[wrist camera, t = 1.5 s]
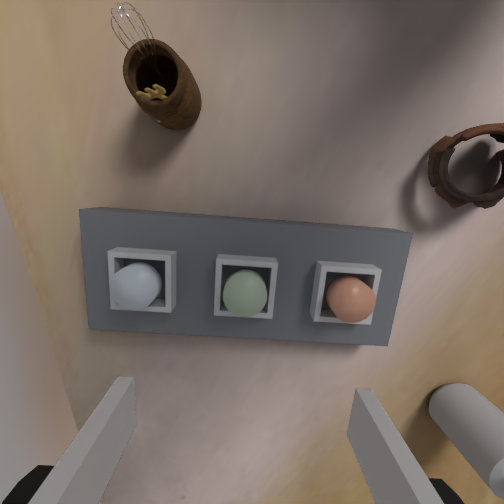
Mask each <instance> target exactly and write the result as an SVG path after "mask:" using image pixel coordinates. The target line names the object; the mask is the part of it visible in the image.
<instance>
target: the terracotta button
mask: <svg viewBox="0 0 504 504" xmlns="http://www.w3.org/2000/svg"><path fill="white" fill-rule="evenodd" d="M326 300H327V303H328V305H329V307H330V308H331V310H332V311H333V312H334V314H335V315H336V316H337V317H338V318H339V319H340V320H342V321H344V322H347V323H357V322H361V321H363V320H365V319H366V318H367V317H369V316H370V315H371V313H372V312H373V310H374V308H375V305H376V297H375V294H374V292H373V290H372V289H371V288H370V287H369V286H367V285H366V284H365V283H363V282H362V281H361V280H359V279H358V278H356V277H352V276H344V277H341V278H338V279H336V280H335V281H334V282H333V283H332V284H331V285H330V286H329V288H328V290H327V294H326Z"/></svg>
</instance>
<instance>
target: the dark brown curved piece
mask: <svg viewBox="0 0 504 504" xmlns="http://www.w3.org/2000/svg"><path fill="white" fill-rule="evenodd" d="M484 134H490V136H491V137H493V138H494V139H496V141H497V142H500V143H504V123H496V124H485V125H481V126H477V127H472V128H469V129H466V130H464V131H462V132H459V133H458V134H456V135H454V136H453V137H448V136H445V137H443V138H442V139H441V140H439V141H438V142H437V143H436V145H435V146H434V147H433V148H432V150H431V152H433V153H431V154H430V156H429V162H428V175H429V180H430V185H431V186H432V187H436V188H435V192H436V193H437V194H438V195H439V196H440V197H442V198H443V199H445V200H446V201H447V202H448V203H449V204H450V206H451V207H453V208H456V207H460V206H462V205H464V204H467V203H469V202H473V203H474V205H475V206H477V207H482V208H484V209H486V208H489V207H493V206H495V205H496V204H497V202H499V201H500V200H501V199H502V198H503V197H504V150H500V151H498V152H497V155H498V157H499V158H500V161H501V164H502V170H501V176H500V179H499V181H498V182H497V183H496V185H495V186H494V187H493V188H492V189H491V190H490V191H488V192H487V193H484V194H469V193H465V192H462V191H460V190H458V189H457V188H456V187H455V186H454V185H453V184H452V183H451V181H450V179H449V176H448V163H449V160H450V157H451V156H452V154H453V152H454V151H455V148H453V147H454V146H455V145H457V144H458V143H460V142H461V141H467V140H469V139H471V138H473V137H476V136H479V135H484Z"/></svg>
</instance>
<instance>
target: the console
mask: <svg viewBox="0 0 504 504" xmlns="http://www.w3.org/2000/svg"><path fill="white" fill-rule="evenodd" d="M79 216H80V228H81V240H82V252H83V265H84V277H85V289H86V301H87V313H88V326H89V329H94V330H111V331H129V332H147V333H164V334H182V335H200V336H217V337H235V338H252V339H270V340H288V341H305V342H323V343H341V344H358V345H376V346H388V342H389V338H390V333H391V329H392V324H393V320H394V315H395V311H396V306H397V302H398V297H399V293H400V289H401V284H402V280H403V275H404V271H405V266H406V262H407V257H408V253H409V248H410V244H411V239H412V235H413V234H412V233H408V232H404V231H400V230H396V229H390V228H376V227H363V226H349V225H336V224H322V223H309V222H295V221H282V220H268V219H254V218H241V217H227V216H214V215H200V214H187V213H173V212H159V211H146V210H132V209H119V208H105V207H97V208H86V209H79ZM135 262H143V263H147V264H149V265H151V266H153V267H154V268H155V269H156V270H157V271H158V273H159V274H160V276H161V279H162V288H161V291H160V293H159V294H158V296H157V297H156V298H155V299H154V300H153V301H152V302H151V304H150V305H148V306H147V307H145V308H143V309H140V310H129V309H126V308H123V307H122V306H120V305H119V304H117V303H116V302H115V300H114V299H113V297H112V295H111V293H110V281H111V279H112V277H113V275H114V274H115V273H116V272H118V271H119V270H121V269H123V268H124V267H126V266H128V265H129V264H132V263H135ZM242 269H248V270H252V271H255V272H257V273H258V274H259V275H260V276H261V277H262V278H263V280H264V282H265V285H266V290H267V301H266V304H265V306H264V307H263V309H262V310H261V311H260V312H258V313H257V314H255V315H253V316H248V317H242V316H237V315H235V314H233V313H232V312H230V311H229V310H228V309H227V307H226V306H225V304H224V301H223V291H224V287H225V283H226V281H227V279H228V277H229V276H230V275H231V274H232V273H234V272H236V271H238V270H242ZM344 276H352V277H356V278H358V279H359V280H361V281H362V282H363V283H365V284H366V285H367V286H369V287H370V288H371V289H372V290H373V292H374V294H375V297H376V305H375V308H374V310H373V312H372V313H371V315H370V316H369V317H367V318H366V319H365V320H363V321H361V322H357V323H347V322H344V321H342V320H340V319H339V318H338V317H337V316H336V315H335V314H334V312H333V311H332V310H331V308H330V307H329V305H328V303H327V300H326V294H327V290H328V288H329V286H330V285H331V284H332V283H333V282H334V281H335V280H336V279H338V278H341V277H344Z"/></svg>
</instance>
